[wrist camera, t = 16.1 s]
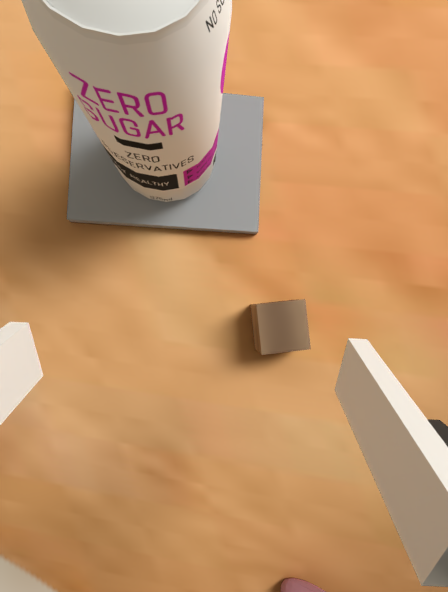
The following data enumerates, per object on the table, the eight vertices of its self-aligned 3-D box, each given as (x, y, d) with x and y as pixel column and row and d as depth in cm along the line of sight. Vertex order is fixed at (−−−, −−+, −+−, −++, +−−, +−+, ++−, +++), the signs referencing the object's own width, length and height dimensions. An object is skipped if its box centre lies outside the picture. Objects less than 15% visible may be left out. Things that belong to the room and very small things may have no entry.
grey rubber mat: (261, 103, 27) (263, 97, 26) (256, 234, 26) (258, 232, 25) (79, 84, 25) (75, 77, 24) (70, 221, 25) (66, 219, 24)
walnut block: (293, 299, 26) (305, 299, 24) (298, 343, 26) (310, 348, 23) (250, 304, 26) (256, 304, 23) (254, 349, 26) (261, 355, 23)
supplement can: (194, 97, 25) (186, -203, 10) (228, 186, 25) (270, 16, 10) (103, 126, 25) (-47, -152, 10) (138, 218, 25) (44, 84, 10)
